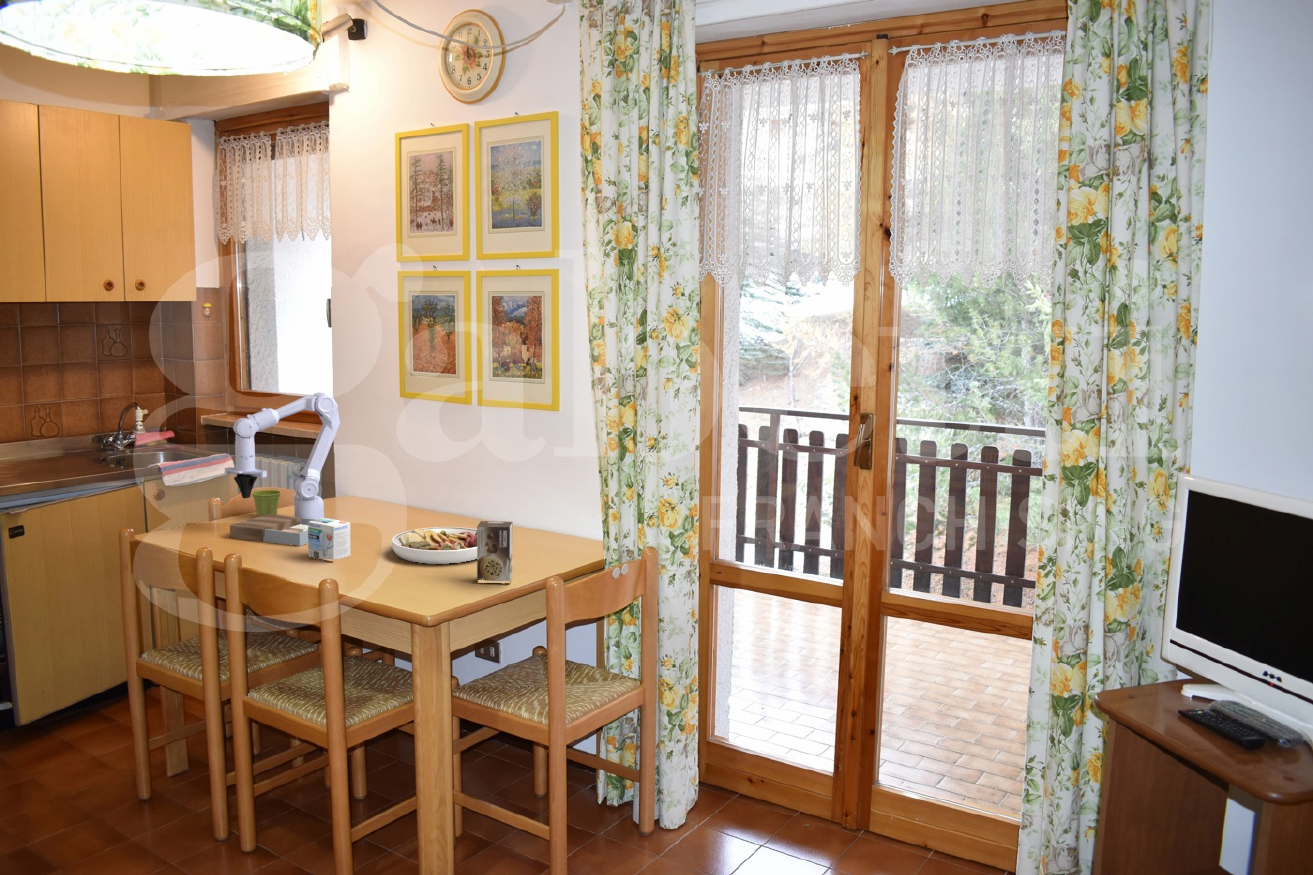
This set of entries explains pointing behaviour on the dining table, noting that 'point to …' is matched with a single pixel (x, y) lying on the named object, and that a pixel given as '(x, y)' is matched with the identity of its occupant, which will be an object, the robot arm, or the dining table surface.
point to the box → (288, 535)
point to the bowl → (436, 545)
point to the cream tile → (299, 528)
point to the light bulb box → (328, 539)
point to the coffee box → (494, 551)
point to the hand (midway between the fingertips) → (246, 497)
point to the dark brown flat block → (261, 526)
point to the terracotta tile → (290, 530)
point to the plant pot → (266, 501)
